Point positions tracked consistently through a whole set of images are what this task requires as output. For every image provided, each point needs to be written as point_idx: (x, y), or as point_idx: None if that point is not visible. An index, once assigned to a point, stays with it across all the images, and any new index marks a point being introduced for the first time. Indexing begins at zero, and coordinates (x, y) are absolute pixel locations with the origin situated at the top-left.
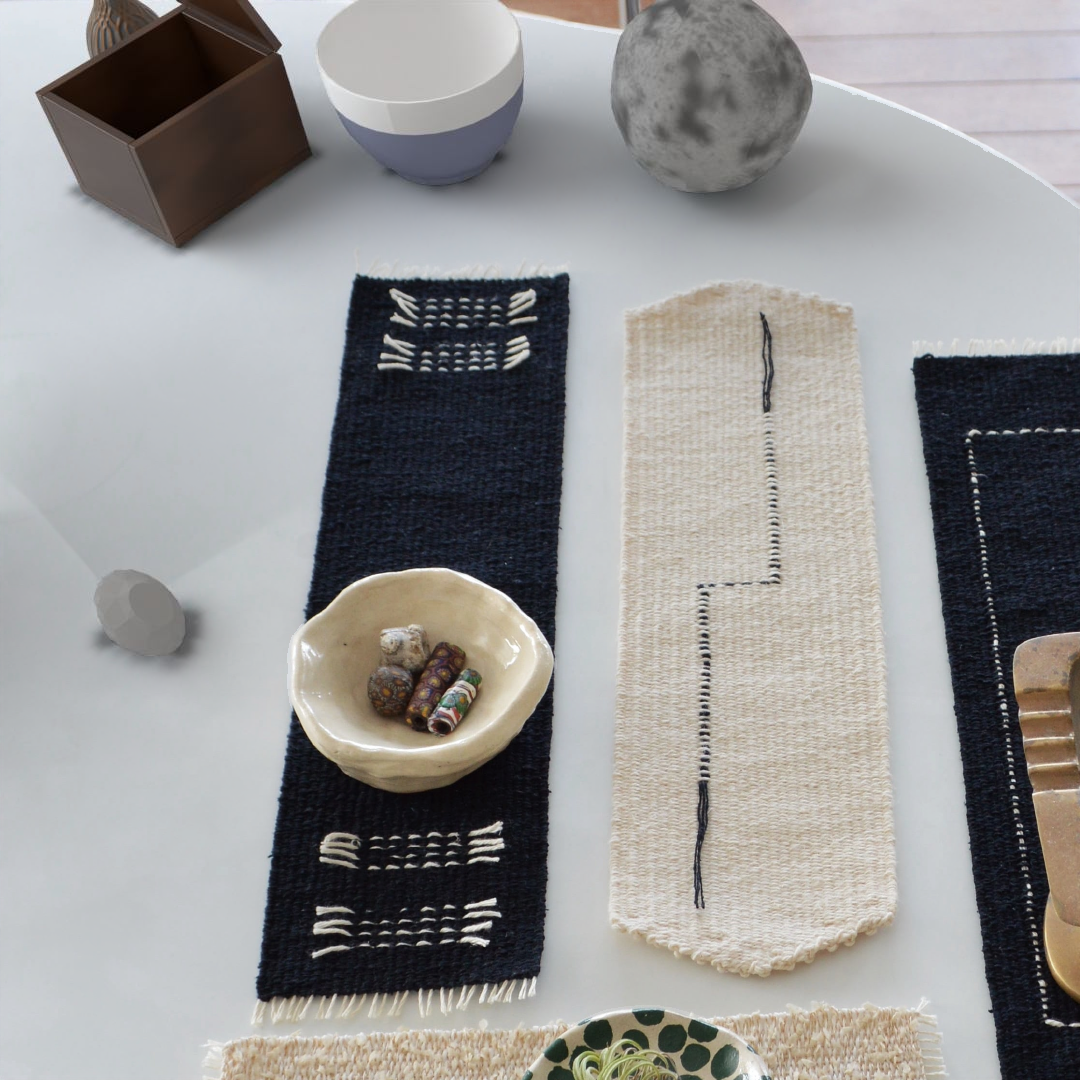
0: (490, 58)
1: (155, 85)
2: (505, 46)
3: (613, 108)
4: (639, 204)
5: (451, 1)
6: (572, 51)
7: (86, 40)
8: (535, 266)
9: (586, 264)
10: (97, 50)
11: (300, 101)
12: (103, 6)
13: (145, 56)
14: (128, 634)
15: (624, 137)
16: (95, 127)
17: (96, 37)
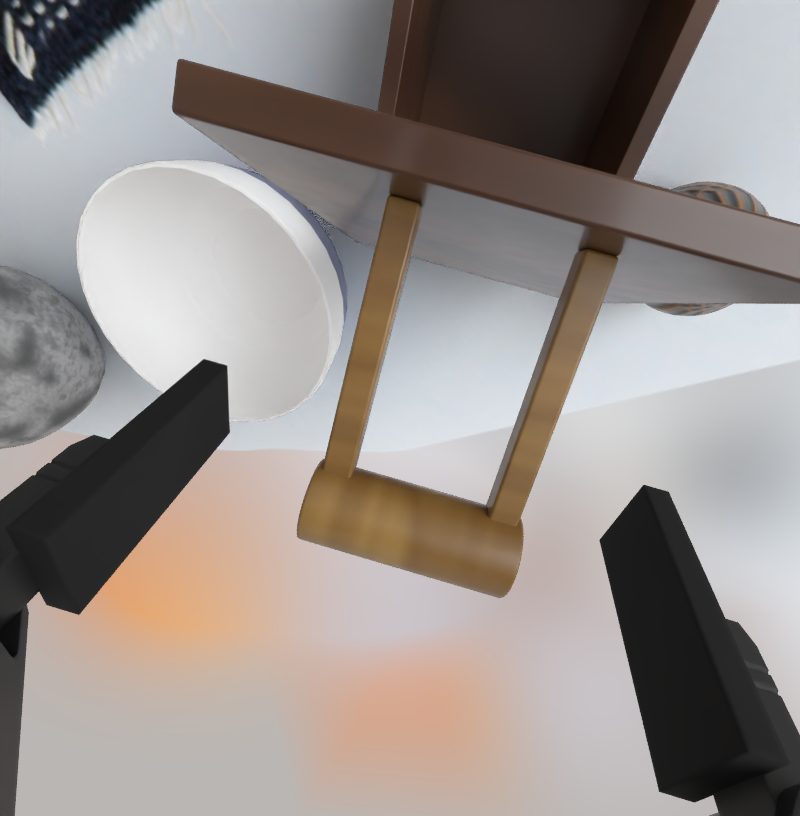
0: (245, 371)
1: (599, 161)
2: None
3: (26, 309)
4: (73, 263)
5: (263, 407)
6: (272, 432)
7: (768, 215)
8: (61, 122)
9: (31, 152)
10: (735, 195)
11: (462, 288)
12: None
13: (607, 170)
14: None
15: (15, 284)
16: None
17: (739, 207)
